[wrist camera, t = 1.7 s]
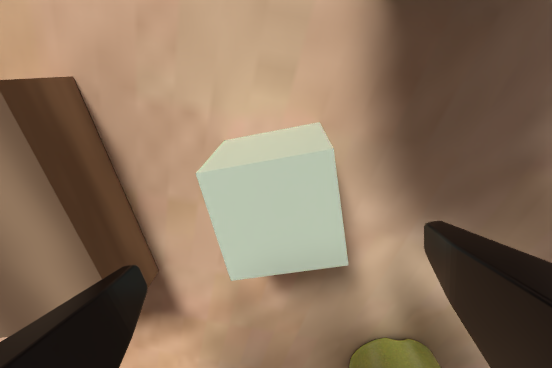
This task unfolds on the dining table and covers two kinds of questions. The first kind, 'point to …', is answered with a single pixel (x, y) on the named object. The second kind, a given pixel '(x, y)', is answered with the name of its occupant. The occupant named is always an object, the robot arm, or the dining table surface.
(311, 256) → the sage cube
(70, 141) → the walnut base
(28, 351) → the robot arm
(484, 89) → the dining table surface
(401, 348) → the plant pot
